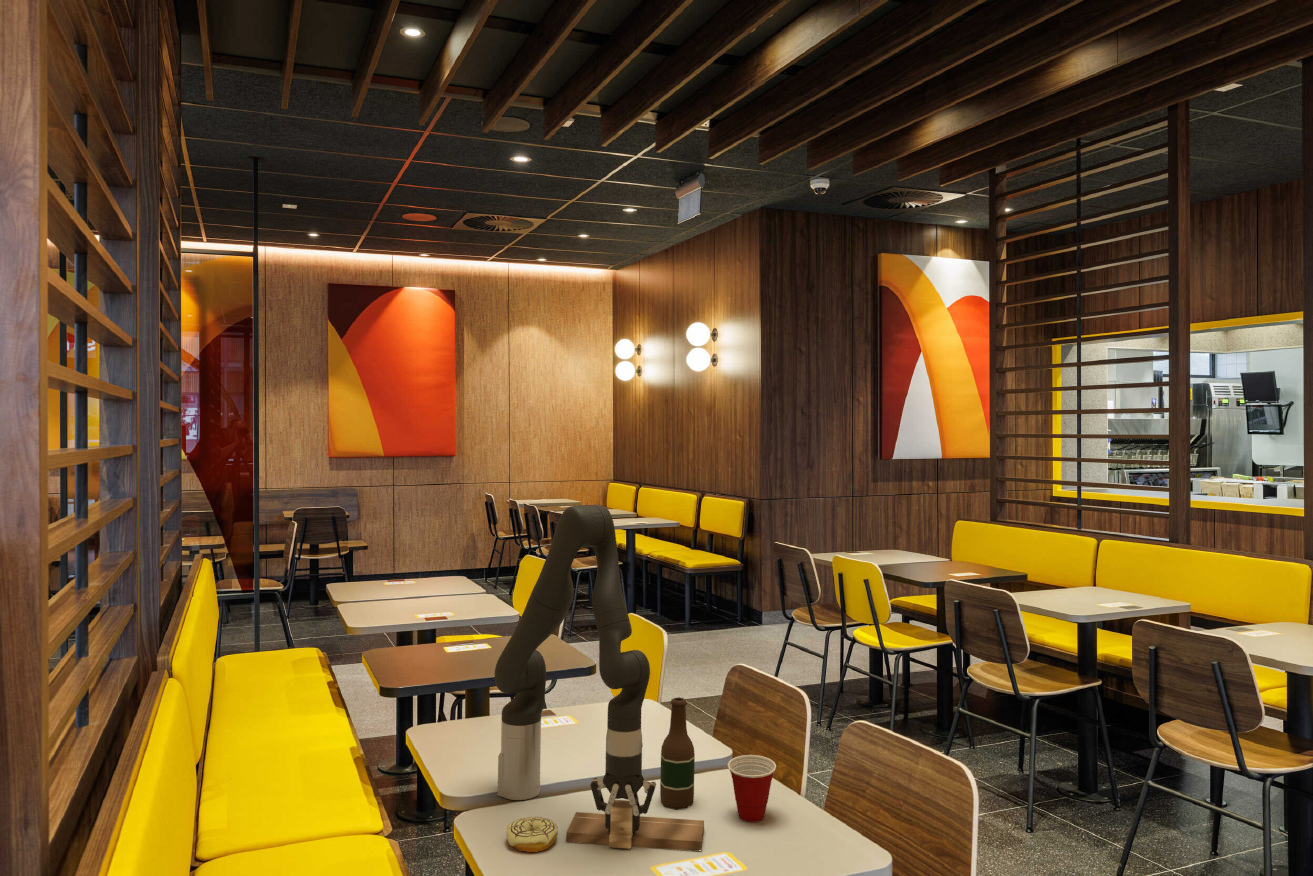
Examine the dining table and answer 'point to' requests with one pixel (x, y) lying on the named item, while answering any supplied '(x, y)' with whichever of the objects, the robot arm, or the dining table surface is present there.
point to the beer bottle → (677, 761)
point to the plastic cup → (751, 785)
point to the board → (640, 832)
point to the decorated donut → (532, 834)
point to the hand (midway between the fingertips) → (622, 830)
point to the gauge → (621, 824)
